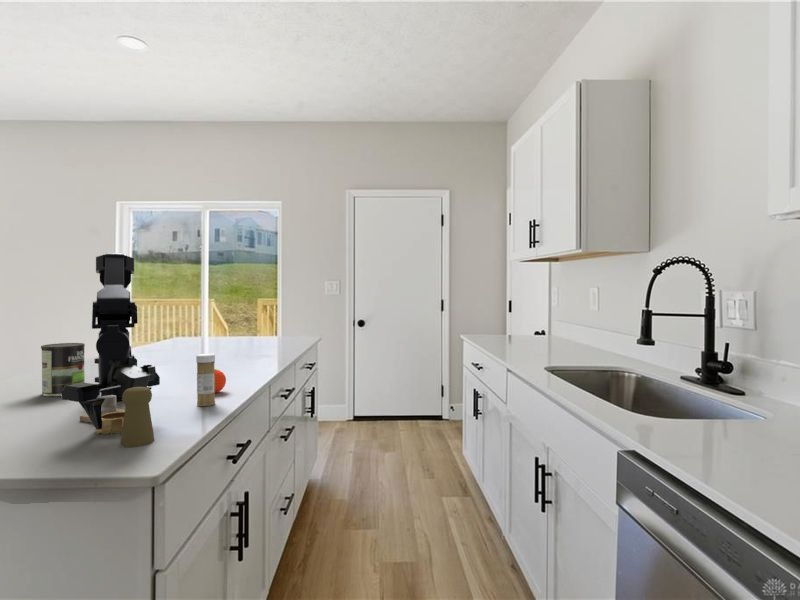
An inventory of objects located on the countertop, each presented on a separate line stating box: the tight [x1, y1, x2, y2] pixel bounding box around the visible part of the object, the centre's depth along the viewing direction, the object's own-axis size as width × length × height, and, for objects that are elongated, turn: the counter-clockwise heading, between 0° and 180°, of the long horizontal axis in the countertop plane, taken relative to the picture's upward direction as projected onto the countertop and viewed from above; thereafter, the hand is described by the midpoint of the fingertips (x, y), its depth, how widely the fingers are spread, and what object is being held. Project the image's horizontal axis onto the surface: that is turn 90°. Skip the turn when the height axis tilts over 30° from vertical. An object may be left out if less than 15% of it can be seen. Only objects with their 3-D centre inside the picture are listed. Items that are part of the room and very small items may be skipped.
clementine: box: [214, 368, 227, 394], centre depth 137 cm, size 8×7×7 cm
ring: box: [94, 411, 125, 435], centre depth 101 cm, size 7×7×3 cm
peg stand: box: [79, 395, 125, 423], centre depth 109 cm, size 8×8×5 cm
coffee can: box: [40, 342, 86, 397], centre depth 134 cm, size 10×10×14 cm
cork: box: [119, 386, 155, 448], centre depth 92 cm, size 6×6×11 cm
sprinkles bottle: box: [195, 353, 216, 407], centre depth 122 cm, size 5×5×14 cm
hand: (114, 424), depth 101 cm, fingers closed on ring, 7 cm apart
